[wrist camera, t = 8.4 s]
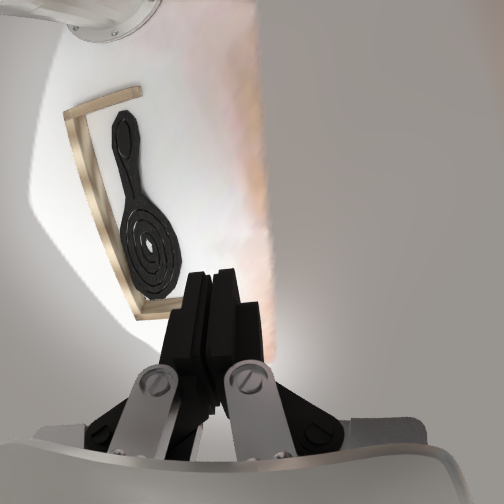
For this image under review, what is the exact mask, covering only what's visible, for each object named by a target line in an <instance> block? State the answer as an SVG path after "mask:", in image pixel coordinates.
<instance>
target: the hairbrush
mask: <svg viewBox="0 0 504 504" xmlns="http://www.w3.org/2000/svg"><path fill="white" fill-rule="evenodd" d="M134 118H135V117H134V116H133V115H132V114H131V113H130V112H129V111H127V110H125V111H120V112H119V113H118V115H117V117H116V119H115V121H114V123H113V125H112V150H113V153H114V156H115V160H116V163H117V166H118V169H119V173H120V177H121V182H122V186H123V189H124V193H125V197H126V198H125V208H124V213H123V217H122V222H121V227H120V240H121V244H122V247H123V252H124V253H125V256H126V257H125V256H124V257H125V258H126V260H127V264H128V267H129V271H130V272H129V273H130V276H131V280H132V282H133V284H134V286H135V288H136V289H137V291H139V292H141V294H143V295H145V296H146V297H147V298H149V299H150V301H151V300H154V301H156V300H155V299H164V298H166V296H167V295H168V294H169V293H171V291H172V290H173V289H174V288H175V287H176V284H177V281H178V277H179V274H180V268H181V263H182V260H181V252H180V248H179V243H178V239H177V236H176V234H175V232H174V230H173V228H172V226H171V224H170V222H169V221H168V220H167V218H165V217H164V216H165V215H164V214H163V215H164V216H163V215H162V213H161V211H160V210H159V209H158V208H157V207H156V206H155V205H154V204H152V203H151V202H150V201H149V200H148V199H147V198H146V197H145V196H144V195H143V194H142V193H141V188H140V180H139V172H138V154H139V141H140V138H139V132H138V127H137V122H135V120H136V119H134ZM123 119H125V120H124V121H122V120H123ZM121 121H122V122H121ZM136 209H137V210H136ZM134 210H136V211H135V212H133V211H134ZM132 212H133V213H132ZM131 213H132V215H131V217H130V218H129V216H130V214H131ZM128 218H129V220H128ZM138 220H139V221H138ZM136 221H137V223H136V226H135V229H134V232H133V227H134V224H135V222H136ZM127 222H128V228H127ZM166 230H167V231H166ZM144 232H145V233H144ZM167 232H168V233H167ZM142 233H143V234H142ZM133 234H134V237H133ZM141 234H142V235H141ZM168 234H169V235H168ZM140 235H141V241H140ZM153 237H154V238H153ZM146 238H147V240H148V241H149V242H150V243H151V244H152V249H153V253H151V254H150V252H149V250H148V248H147V246H146V241H147V240H146ZM127 239H128V242H127ZM134 239H135V242H134ZM162 239H163V240H162ZM163 241H164V243H163ZM141 242H142V246H141ZM135 245H136V246H135ZM128 246H129V247H128ZM164 246H165V247H164ZM173 250H174V252H173ZM126 260H125V261H126ZM160 260H161V261H160ZM167 264H168V267H167ZM159 265H160V268H159V269H158V267H159ZM128 267H127V268H128ZM173 268H174V272H173ZM157 269H158V270H157ZM156 270H157V271H156ZM166 270H167V273H166V276H165V278H164V279H163V277H164V275H165V272H166ZM172 272H173V276H172V279H171V281H170V282H169V280H170V278H171V275H172ZM162 279H163V280H162ZM161 280H162V281H161ZM160 281H161V282H160ZM159 282H160V283H159ZM168 282H169V283H168ZM167 283H168V285H167V286H166V284H167ZM165 286H166V287H165ZM164 287H165V288H164ZM144 299H146V298H145V297H144Z"/></svg>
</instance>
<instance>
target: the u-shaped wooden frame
mask: <svg viewBox="0 0 504 504" xmlns="http://www.w3.org/2000/svg"><path fill="white" fill-rule="evenodd" d="M141 96H142V91H141V86H139V87H130V88H127V89H124V90H121V91H118V92H115V93H112V94H109V95H106V96H103V97H100V98H97V99H95V100H92V101H89V102H87V103H84V104H81V105H79V106H76V107H74V108H71V109H69V110H66V111H64V112H63V116H64V120H65V125H66V129H67V133H68V137H69V141H70V145H71V148H72V152H73V156H74V159H75V163H76V166H77V170H78V173H79V176H80V179H81V183H82V186H83V189H84V192H85V195H86V198H87V201H88V204H89V207H90V210H91V213H92V216H93V219H94V221H95V224H96V227H97V230H98V232H99V235H100V238H101V240H102V243H103V245H104V248H105V250H106V253H107V255H108V258H109V260H110V263H111V265H112V268H113V270H114V272H115V275H116V277H117V279H118V282H119V284H120V286H121V289H122V291H123V293H124V295H125V297H126V300H127V302H128V304H129V306H130V308H131V310H132V312H133V315H134V317H135V319H136V321H139V320H155V319H169V316H170V313H171V310H172V309H179V308H181V305H182V301H183V298H173V299H162V300H156V301H154V300H151V301H146V300H145V299H144V295H143V294H141V292H139V291H137V289H136V288H135V286H134V284H133V282H132V280H131V276H130V273H129V272H130V271H129V267H128V264H127V260H126V258H125V257H126V256H125V253H124V252H123V247H122V244H121V240H120V234H119V231H118V228H117V225H116V222H115V219H114V216H113V213H112V210H111V207H110V204H109V201H108V198H107V195H106V191H105V188H104V185H103V182H102V178H101V175H100V171H99V168H98V164H97V161H96V157H95V153H94V150H93V146H92V142H91V138H90V134H89V130H88V126H87V121H86V117H85V114H88V113H91V112H94V111H97V110H99V109H102V108H105V107H108V106H111V105H114V104H117V103H121V102H124V101H127V100H130V99H134V98H137V97H141ZM124 256H125V257H124ZM125 260H126V261H125ZM127 267H128V268H127Z"/></svg>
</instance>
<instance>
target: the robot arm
mask: <svg viewBox="0 0 504 504" xmlns="http://www.w3.org/2000/svg"><path fill="white" fill-rule="evenodd" d="M160 2H161V0H155V1H154V2H152V0H0V15H8V16H18V17H26V18H34V19H42V20H48V21H55V22H60V23H65V24H67V26H68V28H69V29H70V31H71V32H72V33H73V34H74V35H75V36H77V37H78V38H80V39H83V40H85V41H89V42H96V43H104V42H112V41H115V40H118V39H121V38H123V37H125V36H127V35H129V34H131V33H133V32H134V31H136V30H137V29H139V28H140V27H141V26H142V25H143V24H144V23H145V22H147V21H148V19H149V18H150V17H151V16H152V15H153V14H154V12H155V11H156V9H157V7H158V6H159V4H160ZM78 28H79V29H78ZM117 32H118V34H117V35H116V33H117ZM220 402H221V404H222V406H223V409H224V411H225V413H226V416H227V418H228V419H230V423H231V429H232V434H233V441H234V446H235V452H236V457H237V462H195V461H196V456H197V452H198V448H199V444H200V439H201V435H202V431H203V422H205V421H206V420H207V419H208V418H209V415H214V414H215V407H216V406H220ZM0 504H474V503H473V499H472V496H471V493H470V490H469V487H468V484H467V481H466V479H465V476H464V474H463V472H462V470H461V468H460V466H459V464H458V463H457V461H456V460H455V459H454V457H453V456H452V455H451V454H450V453H448V452H447V451H445V450H444V449H442V448H439V447H435V446H431V445H428V443H427V431H426V428H425V426H424V424H423V423H422V422H421V421H420V420H418V419H416V418H413V417H393V418H351V420H337V419H336V418H335V417H333V416H332V415H330V414H328V413H326V412H325V411H323V410H321V409H320V408H318V407H316V406H315V405H313V404H311V403H309V402H308V401H306V400H305V399H303V398H301V397H300V396H298V395H296V394H295V393H293V392H292V391H290V390H288V389H287V388H285V387H284V386H282V385H281V384H279V383H277V382H276V381H275V379H274V376H273V373H272V371H271V369H270V367H268V366H267V365H266V364H265V363H264V355H263V341H262V329H261V320H260V312H259V305H258V301H257V302H247V303H241V302H240V297H239V291H238V286H237V280H236V275H235V270H234V268H231V269H221V270H219V273H218V274H214V276H213V284H212V280H211V276H210V275H205V273H204V271H202V272H192V273H189V274H188V278H187V282H186V287H185V292H184V296H183V301H182V305H181V308H179V309H172V310H171V313H170V316H169V320H168V325H167V329H166V333H165V338H164V342H163V346H162V351H161V356H160V361H159V364H156V365H153V366H149V367H148V368H146V369H144V370H143V371H142V372H141V373H140V374H139V375H138V377H137V379H136V381H135V383H134V386H133V388H132V390H131V393H130V395H129V397H128V398H127V399H125V400H124V401H122V402H121V403H119V404H118V405H117V406H115V407H114V408H112V409H111V410H110V411H108V412H107V413H105V414H104V415H102V416H101V417H100V418H98V419H97V420H95V421H94V422H93V423H91V424H90V426H86V425H85V424H75V425H61V426H45V427H41V428H40V429H39V430H37V432H36V433H35V435H34V438H33V439H30V438H17V439H11V440H6V441H3V442H1V443H0Z"/></svg>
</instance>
